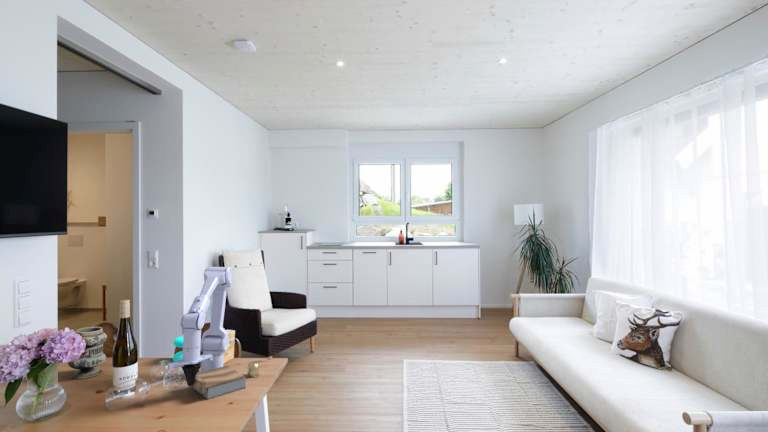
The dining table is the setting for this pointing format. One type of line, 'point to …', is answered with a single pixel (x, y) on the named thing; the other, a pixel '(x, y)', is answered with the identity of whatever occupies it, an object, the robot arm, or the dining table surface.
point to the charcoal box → (223, 388)
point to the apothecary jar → (90, 353)
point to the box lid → (215, 377)
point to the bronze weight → (253, 369)
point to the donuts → (178, 343)
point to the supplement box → (230, 351)
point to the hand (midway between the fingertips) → (190, 384)
